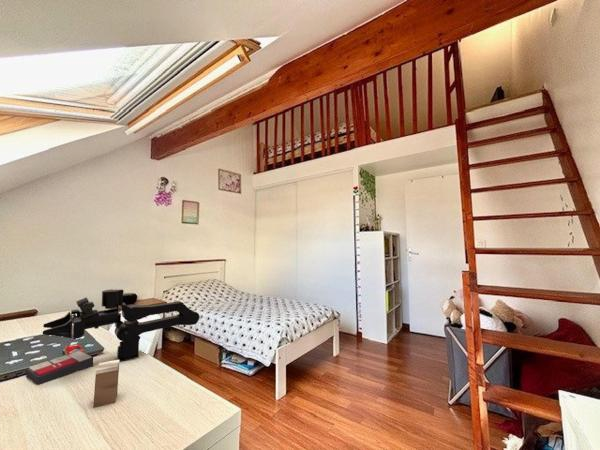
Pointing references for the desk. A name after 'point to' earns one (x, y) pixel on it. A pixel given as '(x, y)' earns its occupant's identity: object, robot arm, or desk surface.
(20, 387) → the desk surface
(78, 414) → the desk surface
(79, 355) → the calculator
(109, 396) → the beige tall block
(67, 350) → the race car
